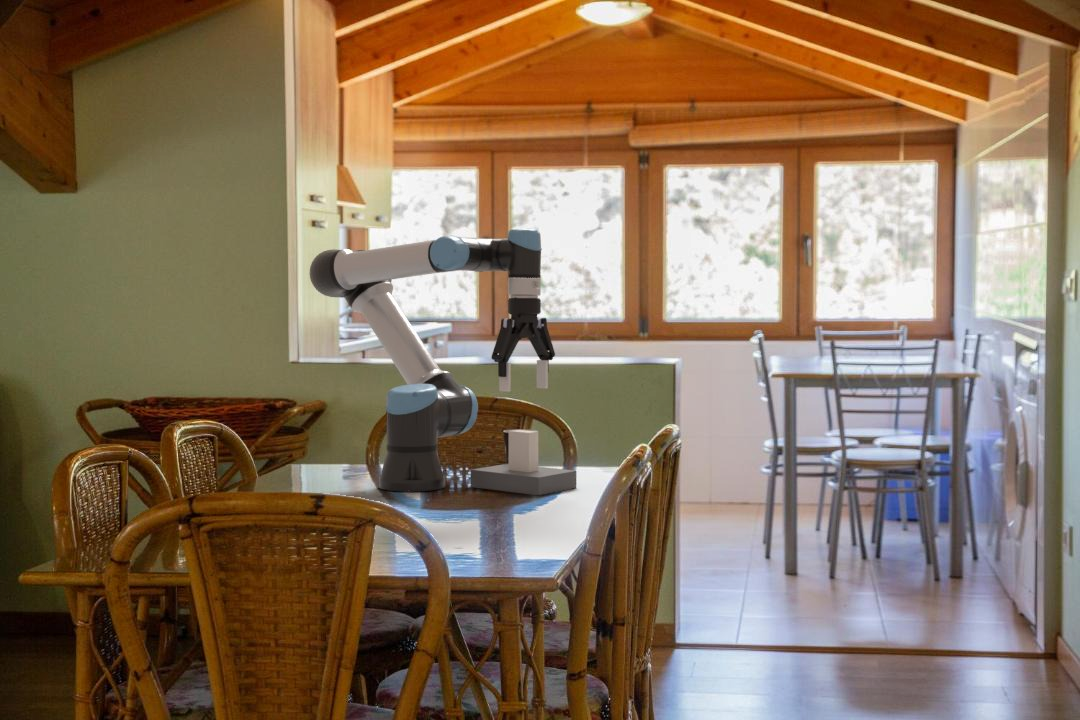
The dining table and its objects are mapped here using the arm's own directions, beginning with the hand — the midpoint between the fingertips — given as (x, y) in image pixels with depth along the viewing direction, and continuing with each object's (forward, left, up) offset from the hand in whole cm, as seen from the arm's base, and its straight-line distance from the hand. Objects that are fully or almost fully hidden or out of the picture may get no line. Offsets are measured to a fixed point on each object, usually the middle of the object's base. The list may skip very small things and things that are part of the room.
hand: (523, 389), depth 298 cm
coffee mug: (-18, +20, -23) cm, 35 cm away
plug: (0, 0, -23) cm, 23 cm away
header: (0, 0, -23) cm, 22 cm away
